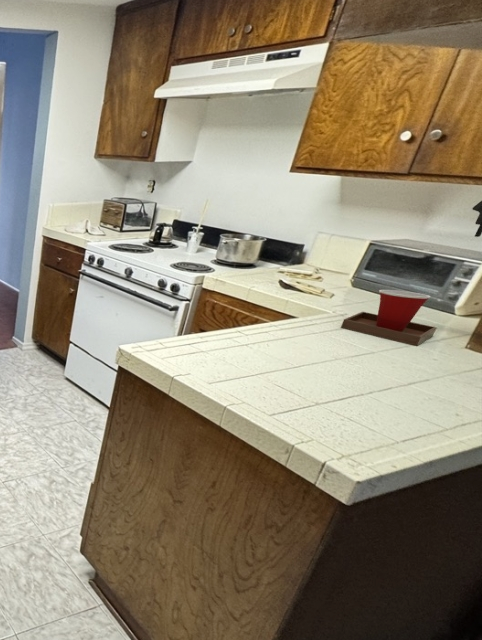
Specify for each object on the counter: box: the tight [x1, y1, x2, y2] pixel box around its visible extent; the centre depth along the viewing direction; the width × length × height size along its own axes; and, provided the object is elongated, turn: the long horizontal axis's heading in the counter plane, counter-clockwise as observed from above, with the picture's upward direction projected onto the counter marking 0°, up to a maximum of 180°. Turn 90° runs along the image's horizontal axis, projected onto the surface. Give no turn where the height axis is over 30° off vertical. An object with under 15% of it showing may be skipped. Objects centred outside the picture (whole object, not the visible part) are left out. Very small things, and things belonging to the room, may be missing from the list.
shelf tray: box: [340, 311, 438, 347], centre depth 144 cm, size 17×16×3 cm
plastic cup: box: [376, 289, 431, 332], centre depth 141 cm, size 11×11×12 cm
